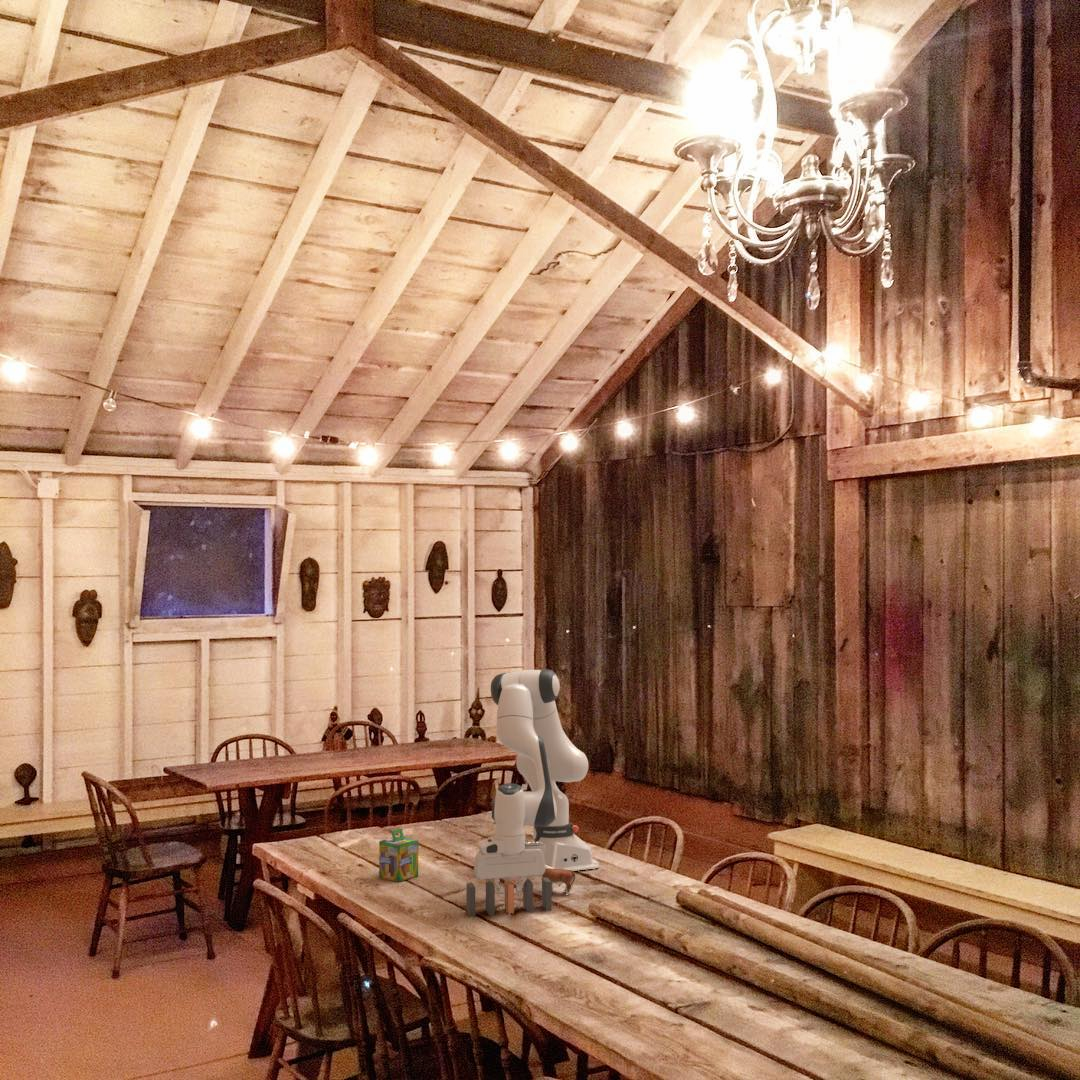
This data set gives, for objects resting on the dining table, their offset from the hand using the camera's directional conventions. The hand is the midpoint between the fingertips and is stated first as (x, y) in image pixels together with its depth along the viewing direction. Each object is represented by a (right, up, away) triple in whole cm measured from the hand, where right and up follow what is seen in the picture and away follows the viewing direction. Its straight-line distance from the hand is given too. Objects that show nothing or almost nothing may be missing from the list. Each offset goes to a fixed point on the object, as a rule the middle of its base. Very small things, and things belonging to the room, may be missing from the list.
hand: (509, 892), depth 307 cm
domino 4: (+5, -5, +1) cm, 7 cm away
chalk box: (-36, -7, +35) cm, 50 cm away
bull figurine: (+13, -6, +19) cm, 23 cm away
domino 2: (-6, -5, -2) cm, 8 cm away
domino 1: (-11, -5, -3) cm, 12 cm away
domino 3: (0, -5, 0) cm, 5 cm away
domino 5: (+10, -5, +2) cm, 12 cm away
